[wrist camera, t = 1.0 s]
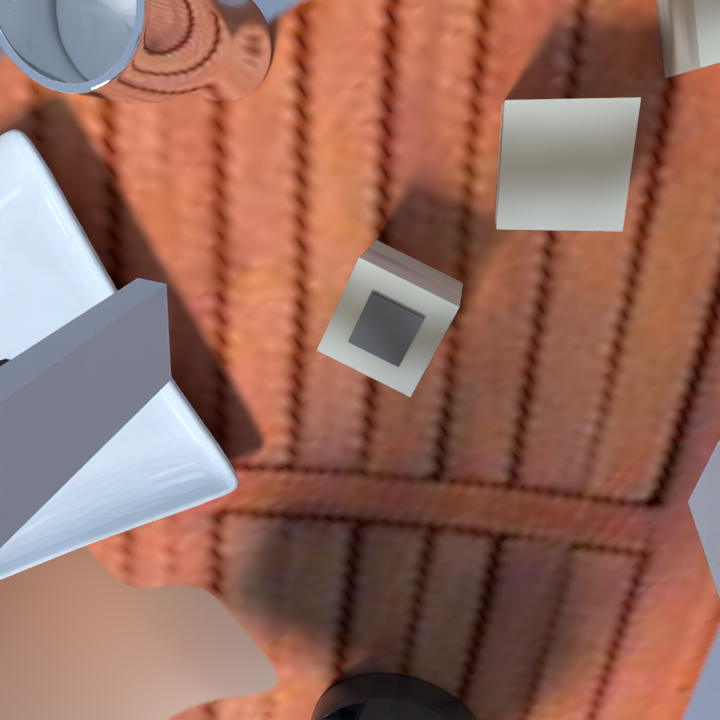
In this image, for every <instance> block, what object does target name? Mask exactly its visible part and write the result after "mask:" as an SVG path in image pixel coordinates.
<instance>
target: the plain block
mask: <svg viewBox="0 0 720 720" xmlns="http://www.w3.org/2000/svg"><path fill="white" fill-rule="evenodd" d="M640 102H641V97H635V98H584V99H533V100H505V101H504V102H503V104H502V107H501V123H500V138H499V154H498V169H497V185H496V200H495V221H496V229H505V230H565V231H623V226H624V219H625V211H626V204H627V197H628V189H629V182H630V175H631V168H632V160H633V153H634V146H635V138H636V131H637V124H638V117H639V109H640Z"/></svg>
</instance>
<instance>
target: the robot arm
mask: <svg viewBox="0 0 720 720" xmlns="http://www.w3.org/2000/svg"><path fill="white" fill-rule="evenodd" d="M170 380H171V362H170V342H169V323H168V303H167V284H165V283H160V282H155V281H150V280H146V279H141V278H137V279H135V280H134V281H132V282H131V283H129V284H128V285H126V286H124V287H123V288H121V289H120V290H118V291H117V292H115V293H114V294H112V295H110V296H109V297H107V298H106V299H104V300H103V301H101V302H100V303H98V304H97V305H95V306H93V307H92V308H90V309H89V310H87V311H86V312H84V313H83V314H81V315H79V316H78V317H76V318H75V319H73V320H72V321H70V322H69V323H67V324H65V325H64V326H62V327H61V328H59V329H58V330H56V331H55V332H53V333H52V334H50V335H48V336H47V337H45V338H44V339H42V340H41V341H39V342H38V343H36V344H34V345H33V346H31V347H30V348H28V349H27V350H25V351H24V352H22V353H20V354H19V355H17V356H16V357H14V358H13V359H11V360H10V359H6V358H5V359H2V360H0V548H1V547H2V546H3V545H4V544H5V543H6V542H7V541H8V540H9V539H10V538H11V537H12V536H13V535H14V534H15V533H16V532H17V531H18V530H19V529H20V528H21V527H22V526H23V525H24V524H25V523H26V522H27V521H28V520H29V519H30V518H31V517H32V516H33V515H34V514H35V513H36V512H38V511H39V510H40V509H41V508H42V507H43V506H44V505H45V504H46V503H47V502H48V501H49V500H50V499H51V498H52V497H53V496H54V495H55V494H56V493H57V492H58V491H59V490H60V489H61V488H62V487H63V486H64V485H65V484H66V483H67V482H68V481H69V480H70V479H71V478H72V477H73V476H74V475H75V474H76V473H77V472H78V471H79V470H80V469H81V468H82V467H83V466H84V465H85V464H86V463H87V462H88V461H89V460H90V459H91V458H92V457H93V456H94V455H95V454H96V453H97V452H98V451H99V450H100V449H101V448H102V447H103V446H104V445H105V444H106V443H107V442H108V441H109V440H110V439H111V438H112V437H114V436H115V435H116V434H117V433H118V432H119V431H120V430H121V429H122V428H123V427H124V426H125V425H126V424H127V423H128V422H129V421H130V420H131V419H132V418H133V417H134V416H135V415H136V414H137V413H138V412H139V411H140V410H141V409H142V408H143V407H144V406H145V405H146V404H147V403H148V402H149V401H150V400H151V399H152V398H153V397H154V396H155V395H156V394H157V393H158V392H159V391H160V390H161V389H162V388H163V387H164V386H165V385H166V384H167V383H168V382H169V381H170ZM688 504H689V507H690V510H691V513H692V516H693V519H694V522H695V525H696V528H697V531H698V534H699V537H700V540H701V543H702V546H703V549H704V552H705V555H706V558H707V561H708V564H709V567H710V571H711V574H712V577H713V580H714V583H715V586H716V589H717V592H718V595H719V598H720V439H719V441H718V443H717V445H716V447H715V449H714V451H713V453H712V455H711V457H710V459H709V461H708V463H707V465H706V467H705V469H704V471H703V473H702V475H701V477H700V479H699V481H698V483H697V485H696V487H695V489H694V491H693V493H692V495H691V497H690V499H689V501H688ZM311 720H475V718H474V717H473V716H472V714H471V713H470V712H469V711H468V710H467V709H466V708H465V707H464V706H463V705H462V704H461V703H460V702H459V701H457V700H456V699H455V698H453V697H452V696H451V695H449V694H447V693H446V692H444V691H442V690H441V689H439V688H437V687H435V686H433V685H430V684H428V683H426V682H423V681H420V680H417V679H414V678H410V677H405V676H400V675H393V674H369V675H362V676H357V677H353V678H350V679H347V680H345V681H342V682H340V683H338V684H337V685H335V686H333V687H332V688H331V689H329V690H328V691H327V692H326V693H325V694H324V695H323V696H322V697H321V698H320V700H319V701H318V703H317V705H316V707H315V709H314V712H313V715H312V718H311Z"/></svg>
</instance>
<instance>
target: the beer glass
mask: <svg viewBox="0 0 720 720" xmlns="http://www.w3.org/2000/svg"><path fill="white" fill-rule="evenodd" d="M0 46H1V47H2V49H3V50H4V52H5V53H6V55H7V56H8V57H9V58H10V60H11V61H12V62H13V63H14V64H15V65H16V66H17V67H18V68H19V69H20V70H21V71H22V72H23V73H25V74H26V75H27V76H28V77H30V78H31V79H33V80H34V81H36V82H38V83H39V84H41V85H43V86H45V87H48V88H50V89H53V90H56V91H60V92H65V93H74V94H78V95H82V96H86V97H91V98H95V99H100V100H105V101H112V102H119V103H127V104H153V103H160V102H165V101H171V100H175V99H178V98H181V97H185V96H188V95H191V94H194V93H196V94H198V95H199V96H201V97H203V98H205V99H208V100H211V101H214V102H220V103H230V102H235V101H238V100H241V99H243V98H245V97H247V96H248V95H250V94H251V93H252V92H254V91H255V90H256V89H257V88H258V86H259V85H260V84H261V83H262V81H263V79H264V78H265V76H266V73H267V71H268V68H269V65H270V60H271V52H272V45H271V36H270V32H269V28H268V25H267V22H266V20H265V18H264V16H263V14H262V12H261V11H260V9H259V8H258V7H257V5H256V4H255V3H254V2H253V1H252V0H0Z"/></svg>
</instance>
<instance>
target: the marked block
mask: <svg viewBox="0 0 720 720" xmlns="http://www.w3.org/2000/svg"><path fill="white" fill-rule="evenodd" d="M462 287H463V283H462V282H460V281H458V280H456V279H454V278H452V277H450V276H448V275H446V274H444V273H442V272H440V271H438V270H436V269H434V268H432V267H430V266H428V265H426V264H424V263H422V262H420V261H418V260H416V259H414V258H412V257H410V256H408V255H406V254H404V253H402V252H400V251H398V250H396V249H394V248H392V247H390V246H388V245H386V244H384V243H382V242H380V241H378V240H376V241H375V242H374V243H373V244H372V245H371V246H370V247H369V248H368V249H367V250H366V251H365V252H364V253H363V254H362V255H361V256H360V257H359V259H358V261H357V263H356V266H355V268H354V270H353V272H352V274H351V277H350V279H349V281H348V283H347V285H346V288H345V290H344V292H343V294H342V296H341V299H340V301H339V303H338V305H337V307H336V310H335V312H334V314H333V316H332V318H331V320H330V323H329V325H328V327H327V329H326V331H325V334H324V336H323V338H322V340H321V342H320V345H319V347H318V349H317V351H319V352H321V353H323V354H325V355H327V356H329V357H331V358H333V359H335V360H337V361H339V362H341V363H343V364H345V365H347V366H349V367H351V368H353V369H355V370H357V371H359V372H361V373H363V374H365V375H367V376H369V377H371V378H373V379H375V380H377V381H379V382H381V383H383V384H385V385H387V386H389V387H391V388H393V389H395V390H397V391H399V392H401V393H403V394H405V395H407V396H409V397H411V395H412V393H413V392H414V390H415V388H416V386H417V384H418V382H419V381H420V379H421V377H422V375H423V373H424V371H425V370H426V368H427V366H428V364H429V362H430V360H431V359H432V357H433V355H434V353H435V351H436V349H437V348H438V346H439V344H440V342H441V340H442V338H443V337H444V335H445V333H446V331H447V329H448V328H449V326H450V324H451V322H452V320H453V318H454V317H455V315H456V313H457V311H458V309H459V307H460V301H461V294H462Z"/></svg>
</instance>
